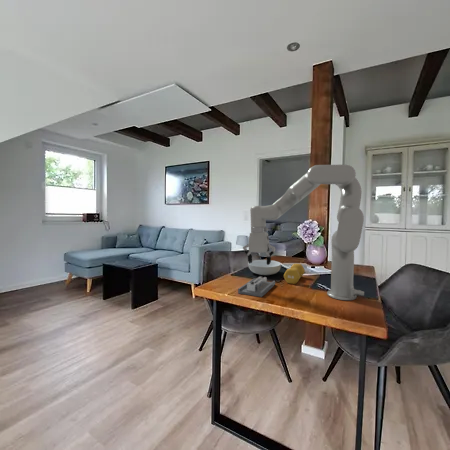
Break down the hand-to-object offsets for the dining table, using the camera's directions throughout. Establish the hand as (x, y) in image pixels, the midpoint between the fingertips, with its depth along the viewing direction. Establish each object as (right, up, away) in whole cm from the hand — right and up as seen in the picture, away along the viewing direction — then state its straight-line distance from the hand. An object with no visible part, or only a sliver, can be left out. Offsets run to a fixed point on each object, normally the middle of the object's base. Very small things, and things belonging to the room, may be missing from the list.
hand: (259, 263), depth 130 cm
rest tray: (-1, -13, +1) cm, 13 cm away
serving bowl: (+8, -12, +33) cm, 35 cm away
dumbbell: (+23, -13, +18) cm, 32 cm away
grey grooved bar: (-1, -12, +1) cm, 12 cm away
